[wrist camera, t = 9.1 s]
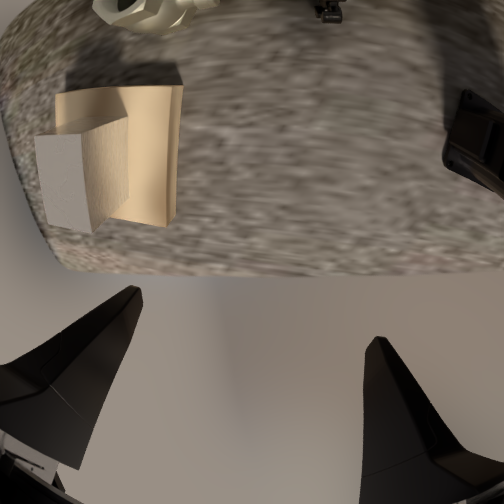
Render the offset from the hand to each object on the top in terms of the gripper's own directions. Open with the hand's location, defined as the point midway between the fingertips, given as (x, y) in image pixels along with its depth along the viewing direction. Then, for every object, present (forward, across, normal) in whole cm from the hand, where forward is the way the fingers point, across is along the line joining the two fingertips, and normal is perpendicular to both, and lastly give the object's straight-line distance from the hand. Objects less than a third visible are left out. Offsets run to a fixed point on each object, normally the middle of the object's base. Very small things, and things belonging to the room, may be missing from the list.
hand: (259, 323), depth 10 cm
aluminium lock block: (+10, +12, -1) cm, 16 cm away
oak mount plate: (+12, +12, -1) cm, 17 cm away
